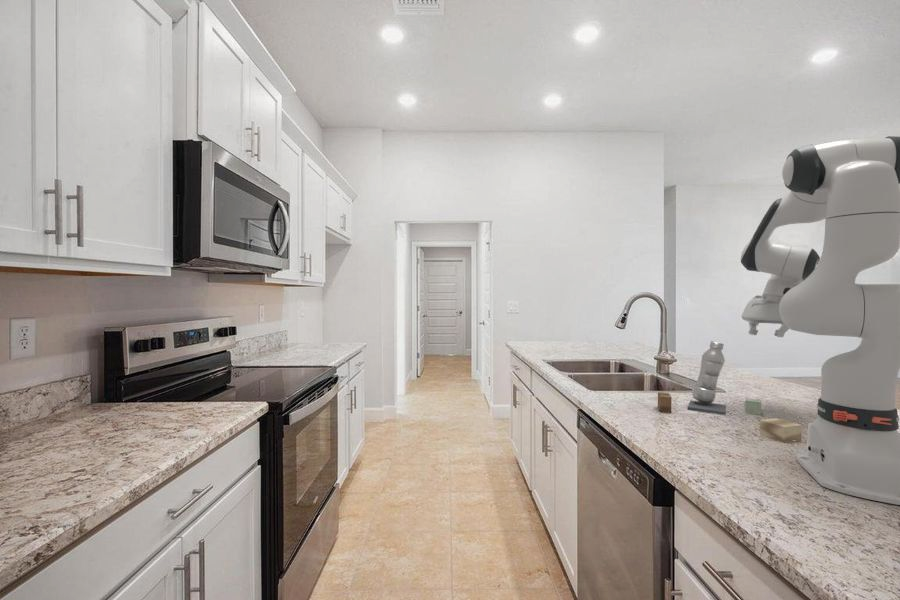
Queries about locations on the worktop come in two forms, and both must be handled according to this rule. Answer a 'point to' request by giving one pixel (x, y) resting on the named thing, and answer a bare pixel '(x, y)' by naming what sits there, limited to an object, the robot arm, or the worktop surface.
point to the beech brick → (780, 429)
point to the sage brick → (752, 406)
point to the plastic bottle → (709, 373)
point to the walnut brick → (664, 402)
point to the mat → (707, 407)
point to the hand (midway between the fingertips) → (764, 335)
